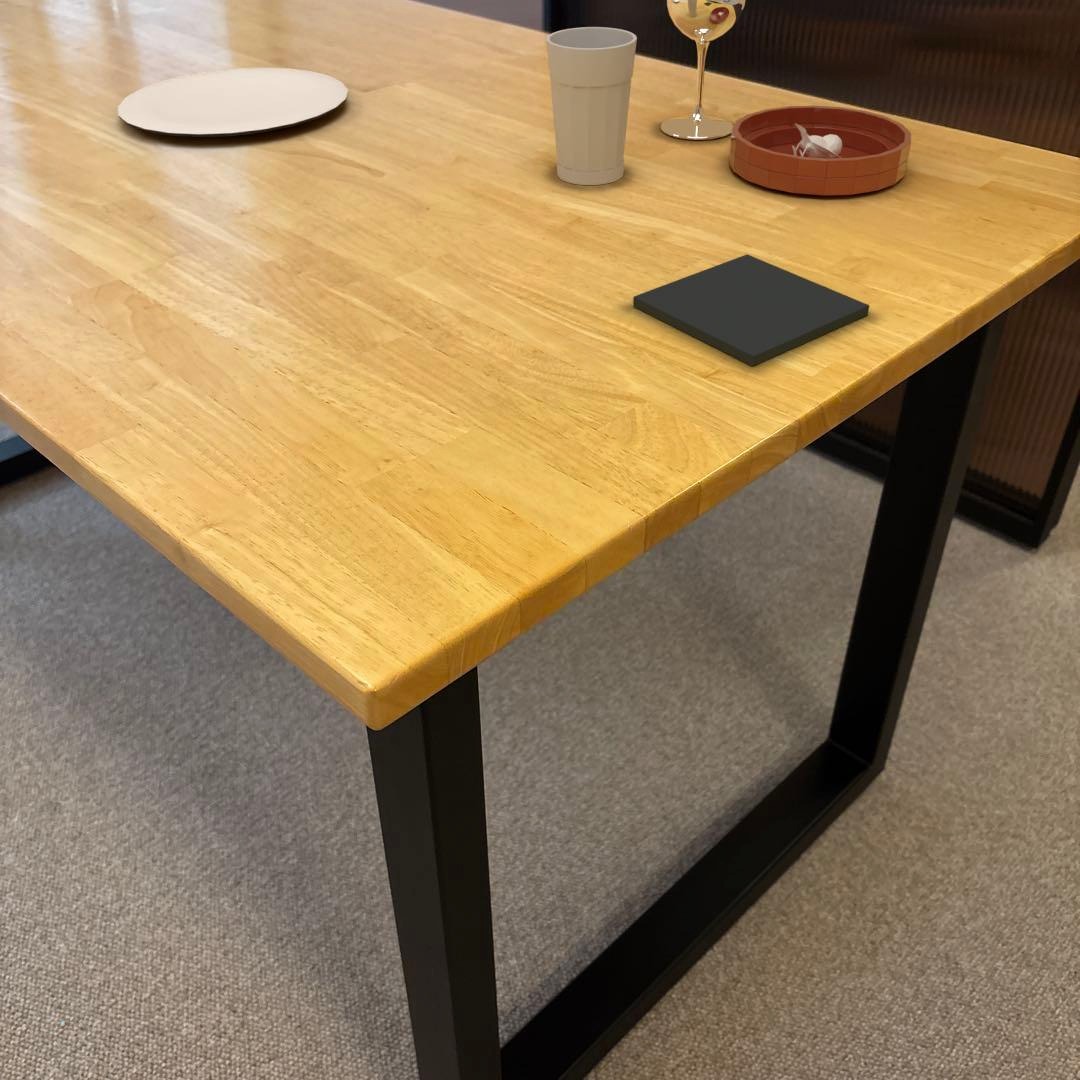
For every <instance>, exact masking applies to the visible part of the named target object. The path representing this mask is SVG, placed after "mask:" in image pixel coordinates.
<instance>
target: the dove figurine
mask: <svg viewBox="0 0 1080 1080" xmlns="http://www.w3.org/2000/svg"><path fill="white" fill-rule="evenodd" d="M795 124H796V123H795ZM796 126H797V127H798V129H799V130H800V132H801V135H802V140H801V141H800V143H799V144H798V145H797V147H796V149H795V148H794V146H792V148H793V152H794V156H797V154H796V151H797V149H798V147H799V146H801V147H802V148H803V150H804V152H803V154H802V152H801V150H799V152H800V155H801V157H803V156H804V154H805V153H806V154H807V155H808V156H809V157H814V158H827V159H829V158H835V157H838V158H841V157H840V156H838V155H839V153H840V152H841V149H842V140H841V139H840V138H839V137H838V136H837V135H832V134H829V135H826V136H824V137H821V136H817V135H812V136H809V135H808V134H807V132H806V129H805V128H803V127H802V126H800V125H798V124H796Z"/></svg>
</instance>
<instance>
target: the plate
mask: <svg viewBox="0 0 1080 1080" xmlns="http://www.w3.org/2000/svg"><path fill="white" fill-rule="evenodd" d="M348 95H349V89H348V88H347V86H346V85H345V83H344V82H342V81H341V80H338V79H337V78H334V77H332V76H330V75H328V74H325V73H321V72H317V71H312V70H306V69H298V68H289V67H267V66H265V67H264V66H263V67H239V68H238V67H237V68H228V69H227V68H226V69H218V70H217V69H216V70H208V71H203V72H196V73H191V74H186V75H180V76H177V77H173V78H168V79H165V80H160V81H158V82H155V83H153V84H152V83H151V84H150V85H147V86H144V87H142V88H139V89H137V90H135V91H134V92H132V93H130V94H129V95H127V96H125V98H124V99H123V100H122V101H121V102H120V104H119V105H118V106H117V115H118V118H119V119H121V120H122V121H123V122H124V123H125V124H126V125H128V126H129V127H132V128H135V129H138V130H141V131H144V132H147V133H152V134H153V133H154V134H158V135H165V136H171V137H172V136H173V137H192V138H194V137H195V138H217V137H219V138H220V137H237V136H246V135H255V134H261V133H266V132H271V131H276V130H281V129H286V128H290V127H295V126H298V125H302V124H305V123H308V122H311V121H315V120H318V119H320V118H322V117H324V116H326V115H328V114H330V113H332V112H334V111H336V110H337V109H338V108H339V107H341V105H342V104H343V105H344V103H345V102H346V101H347V99H348Z"/></svg>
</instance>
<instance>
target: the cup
mask: <svg viewBox="0 0 1080 1080" xmlns="http://www.w3.org/2000/svg"><path fill="white" fill-rule="evenodd" d="M637 40H638V37H637V35H636V34H634V33H633V32H631V31H629V30H625V29H622V28H615V27H614V28H613V27H604V26H585V27H583V26H582V27H573V28H565V29H561V30H558V31H555V32H552V33H550V34H548V35H547V37H546V49H547V60H548V61H547V62H548V70H549V80H550V91H551V103H552V116H553V128H554V139H555V150H556V151H555V152H556V177H558V178H559V179H560V180H561V181H564V182H565V183H569V184H574V185H580V186H599V185H606V184H611V183H614V182H616V181H619V180H621V179H622V178H623V176H624V173H625V157H624V155H625V146H626V136H627V126H628V115H629V108H630V107H629V106H630V96H631V88H632V87H631V86H632V79H633V76H634V67H635V57H636V50H637Z"/></svg>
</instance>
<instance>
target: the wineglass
mask: <svg viewBox="0 0 1080 1080" xmlns="http://www.w3.org/2000/svg"><path fill="white" fill-rule="evenodd" d="M746 3H747V0H665V4H666V9H667V12H668V16H669V18H670V20H671V21H672V23H673V25H674V26H675V27H676V28H677V29H678V30H679V31H680V33H682V34H683V35H685V36H686V37H687V38H688V39H690V40H693V41H695V43H696V49H697V50H696V51H697V72H696V88H695V103H694V106H693V110H692V112H691V113H690V114H689V115H688V114H687V115H679V116H673V117H671V118H668V119H666V120H664V121H663V122H662V123H661V125H660V130H661V131H662V133H664V134H665V135H667V136H670V137H673V138H676V139H681V140H688V141H708V140H709V141H710V140H717V139H721V138H725V137H727V136H729V135H731V132H732V128H733V126H734V124H732V122H730V121H729V120H727V119H724V118H722V117H717V116H712V115H706V113H705V112H704V111H705V110H704V107H703V98H704V83H705V82H704V81H705V70H706V59H707V54H708V49H709V46H710V43H711V42H712V41H714V40H717V39H718V38H720V37H722V36H724V35H725V34H726V33H727V32H728V31H729V30H730V29H731V28H733V27H734V26H735V25H736V23H737V22H738V20H739V19H740V17H741V16H742V14H743V11H744V9H745V6H746Z"/></svg>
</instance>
